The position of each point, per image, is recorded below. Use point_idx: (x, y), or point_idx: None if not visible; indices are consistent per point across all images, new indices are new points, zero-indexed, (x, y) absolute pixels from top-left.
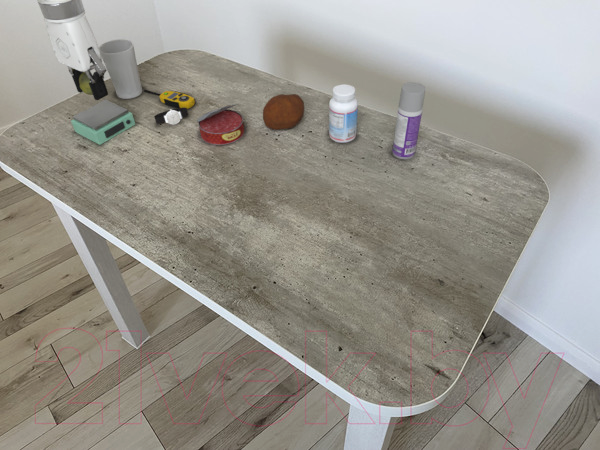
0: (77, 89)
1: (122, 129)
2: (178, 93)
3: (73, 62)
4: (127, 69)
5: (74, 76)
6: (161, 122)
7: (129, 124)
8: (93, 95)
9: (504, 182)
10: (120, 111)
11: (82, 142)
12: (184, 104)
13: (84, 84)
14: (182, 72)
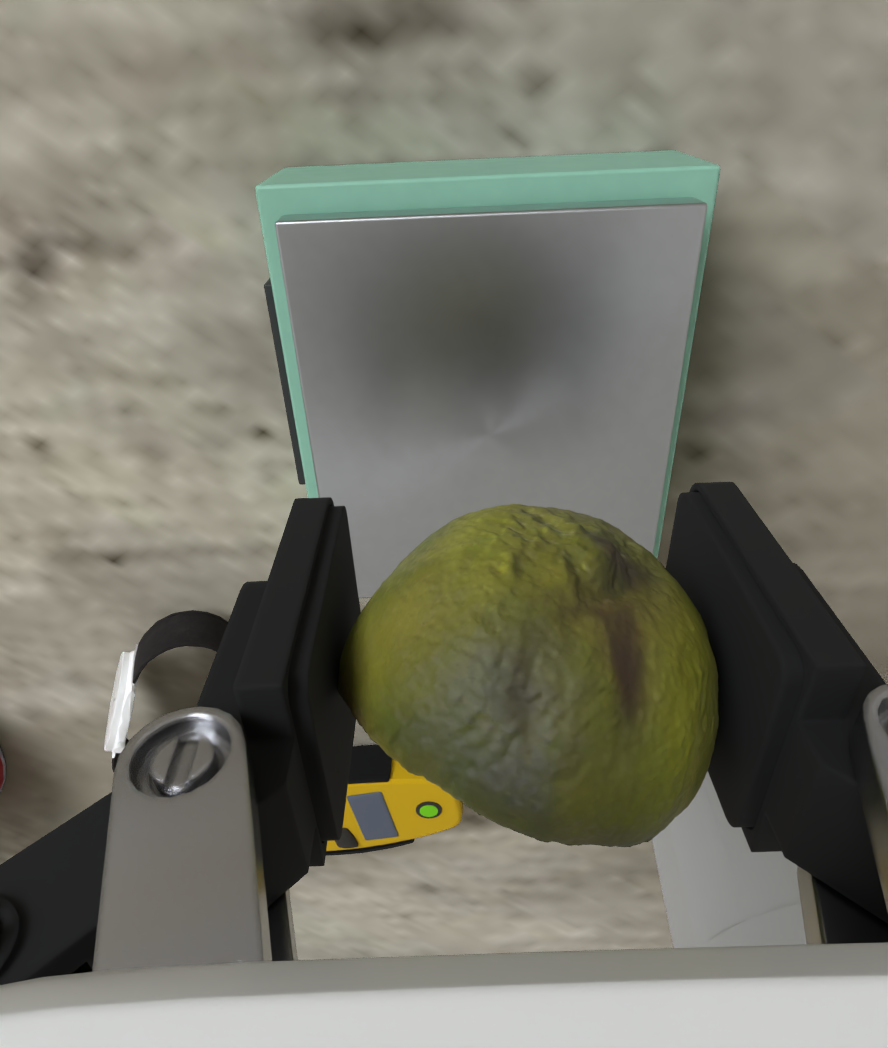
0: (733, 501)
1: None
2: (370, 840)
3: None
4: (683, 907)
5: (802, 674)
6: (148, 632)
7: None
8: (311, 532)
9: None
10: (356, 552)
11: (463, 78)
12: None
13: (448, 621)
14: (590, 924)
